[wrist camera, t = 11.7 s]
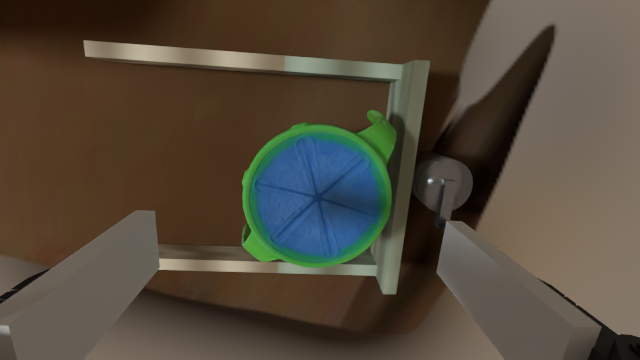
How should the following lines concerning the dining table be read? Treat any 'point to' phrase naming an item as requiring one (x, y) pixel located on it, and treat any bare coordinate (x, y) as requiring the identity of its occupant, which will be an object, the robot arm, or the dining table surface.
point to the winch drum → (441, 184)
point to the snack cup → (318, 193)
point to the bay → (403, 78)
